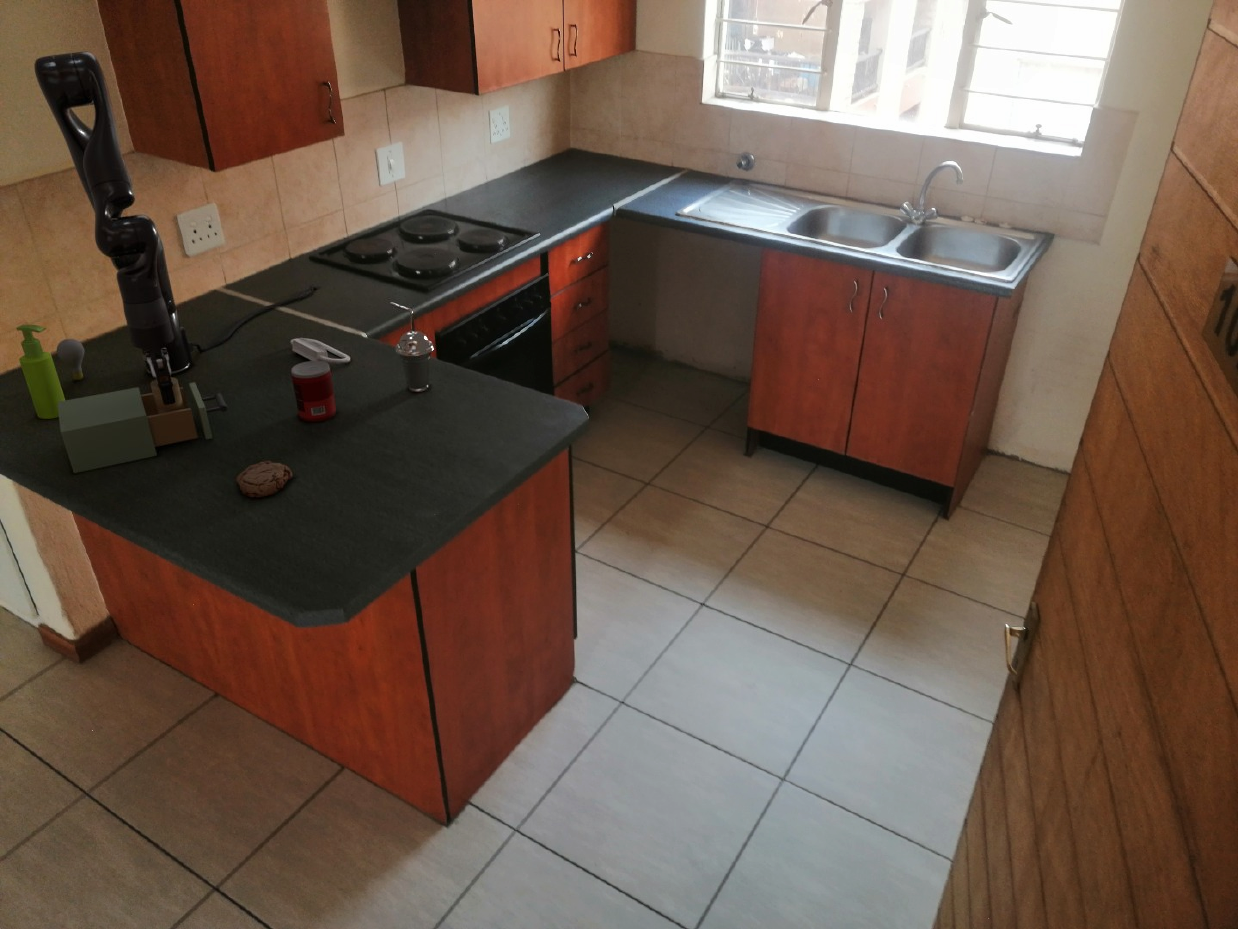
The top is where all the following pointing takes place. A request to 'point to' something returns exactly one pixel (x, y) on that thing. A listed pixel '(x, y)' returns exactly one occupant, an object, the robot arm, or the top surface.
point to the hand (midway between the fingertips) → (167, 395)
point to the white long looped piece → (316, 350)
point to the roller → (158, 398)
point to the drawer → (180, 418)
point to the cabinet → (105, 429)
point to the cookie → (263, 479)
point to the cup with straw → (415, 355)
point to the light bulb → (72, 356)
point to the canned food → (313, 390)
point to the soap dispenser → (40, 374)
